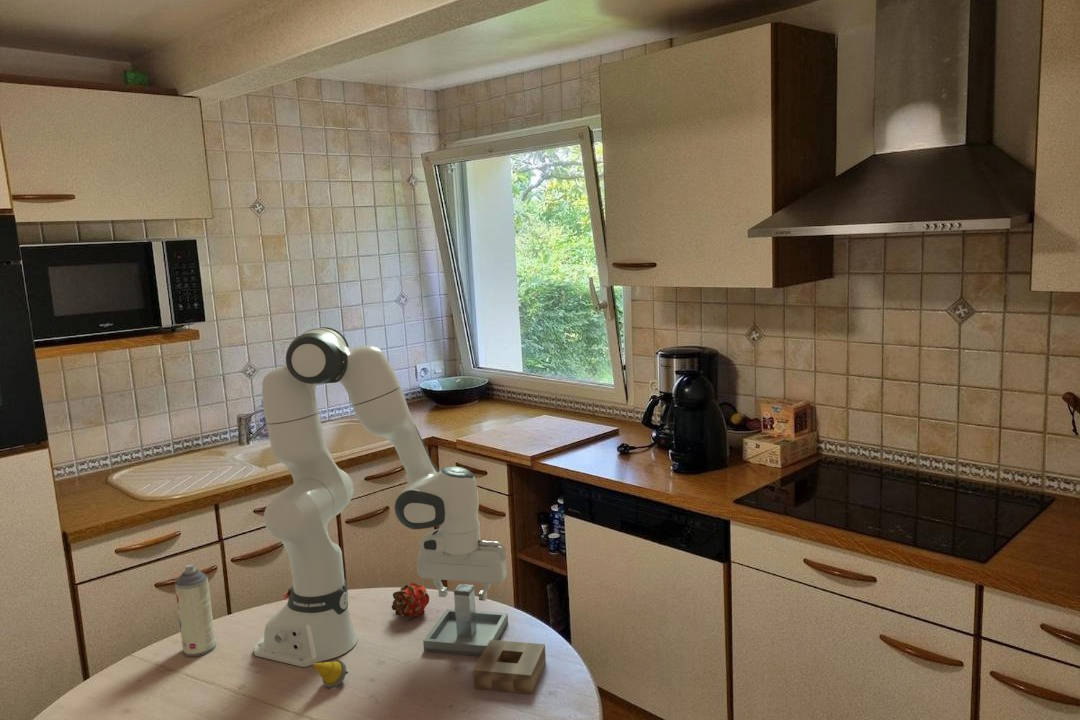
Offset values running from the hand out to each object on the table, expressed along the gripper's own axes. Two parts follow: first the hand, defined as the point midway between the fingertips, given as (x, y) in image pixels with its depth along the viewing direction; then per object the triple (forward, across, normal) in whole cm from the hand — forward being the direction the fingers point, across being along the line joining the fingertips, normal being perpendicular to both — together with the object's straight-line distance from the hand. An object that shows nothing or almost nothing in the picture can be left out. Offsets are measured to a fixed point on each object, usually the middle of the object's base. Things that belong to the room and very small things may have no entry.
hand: (463, 597), depth 178 cm
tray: (+10, 0, 0) cm, 10 cm away
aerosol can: (+11, +58, +14) cm, 61 cm away
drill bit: (+10, +20, +23) cm, 33 cm away
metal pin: (+9, 0, 0) cm, 9 cm away
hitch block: (+9, -15, +13) cm, 22 cm away
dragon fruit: (+10, +16, -9) cm, 21 cm away
